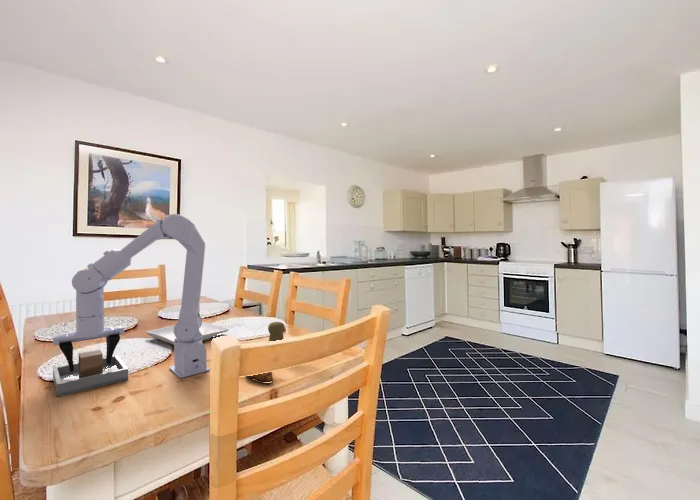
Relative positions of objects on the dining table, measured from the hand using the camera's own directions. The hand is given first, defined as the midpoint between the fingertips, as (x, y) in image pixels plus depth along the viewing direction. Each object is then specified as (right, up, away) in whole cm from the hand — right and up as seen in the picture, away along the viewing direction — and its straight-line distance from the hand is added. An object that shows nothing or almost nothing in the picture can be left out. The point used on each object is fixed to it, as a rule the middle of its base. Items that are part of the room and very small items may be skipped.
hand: (90, 366), depth 86 cm
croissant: (+43, -5, +3) cm, 43 cm away
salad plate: (+7, -3, +38) cm, 39 cm away
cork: (+44, -4, +19) cm, 49 cm away
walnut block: (0, -3, 0) cm, 3 cm away
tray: (0, -3, 0) cm, 3 cm away
